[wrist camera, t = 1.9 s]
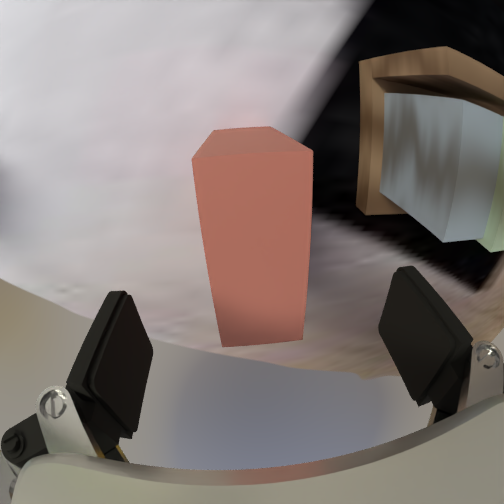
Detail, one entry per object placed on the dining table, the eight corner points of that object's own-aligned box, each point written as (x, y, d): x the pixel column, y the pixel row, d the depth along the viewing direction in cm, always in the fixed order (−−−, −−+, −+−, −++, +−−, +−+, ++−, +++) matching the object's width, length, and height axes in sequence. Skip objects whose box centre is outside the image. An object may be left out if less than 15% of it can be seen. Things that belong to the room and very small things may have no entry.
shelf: (359, 61, 15) (460, 45, 6) (516, 114, 16) (584, 141, 7) (355, 205, 21) (430, 284, 12) (504, 206, 22) (563, 250, 13)
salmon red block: (213, 130, 18) (191, 158, 8) (270, 126, 18) (313, 151, 9) (224, 241, 22) (222, 347, 13) (273, 237, 23) (302, 339, 13)
